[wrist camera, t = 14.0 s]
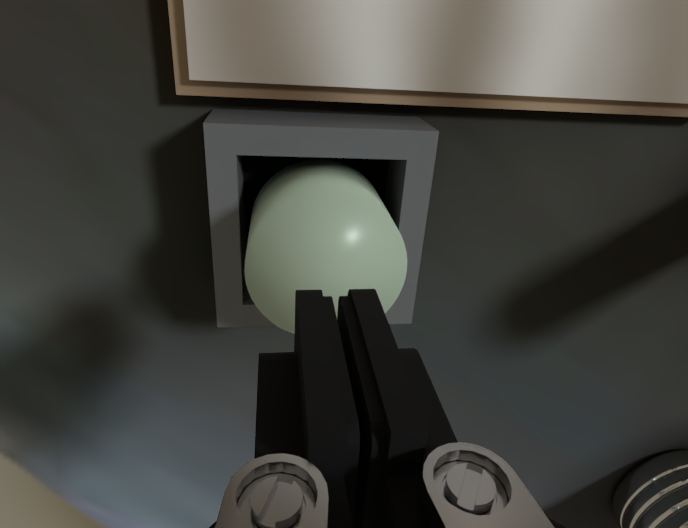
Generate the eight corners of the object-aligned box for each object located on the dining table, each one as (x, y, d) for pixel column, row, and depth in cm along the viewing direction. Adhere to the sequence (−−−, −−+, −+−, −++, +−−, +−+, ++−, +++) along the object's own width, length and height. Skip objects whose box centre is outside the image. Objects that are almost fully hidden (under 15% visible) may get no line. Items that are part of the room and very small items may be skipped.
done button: (389, 160, 16) (416, 194, 13) (377, 282, 18) (398, 336, 15) (248, 157, 15) (241, 191, 12) (252, 283, 17) (247, 340, 14)
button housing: (418, 116, 17) (438, 131, 15) (396, 290, 20) (411, 323, 18) (213, 108, 16) (202, 123, 14) (224, 291, 19) (217, 327, 17)
